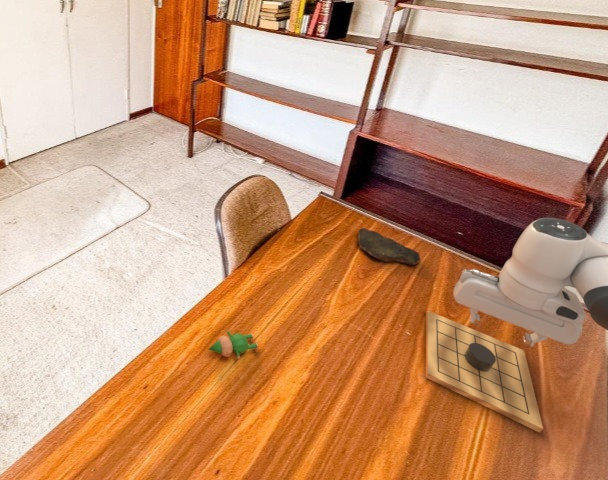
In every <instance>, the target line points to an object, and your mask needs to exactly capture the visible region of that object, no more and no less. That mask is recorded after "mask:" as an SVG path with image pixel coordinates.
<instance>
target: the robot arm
mask: <svg viewBox="0 0 608 480" xmlns="http://www.w3.org/2000/svg"><path fill="white" fill-rule="evenodd" d="M566 287H571V288H574V289H576V291H577V293H578V294H579V295H580V298H581V299H582V301H583V303H584V305H585V307H586V309H587V311H588V313H589V315H590V317H591V319H592V320H593V321H594V322H595V323H596V324H597V325H598V326H600V327H601V328H603V329H604V330H607V331H608V243H607V242H604V241H603V242H602V241H600V240H598V239H596V238H594V237H593V236H592V235H590V234H589V233H587V231H586V230H585V229H584V228H582V227H581V226H579V225H578V224H576V223H573V222H571V221H569V220H565V219H561V218H556V217H541V218H538V219H536V220H534V221H532V222H531V223H529V225H527V227H526V228H525V229H524V230H523V232H521V234H520V236H519V237H518V239H517V240H516V242H515V244H514V246H513V248H512V255H511V257H510V258H509V259H507V260H506V261H505V263H504V265H503V267H502V268H501V270H500V272H499V274H498V275H495V274H494V275H493V274H491V273H487V272H483V271H481V270H479V269H476V268H471V269H463V270H462V271H461V272H460V274H459V277H458V281H457V282H456V284H455V285H454V287H453V292H452V294H453V299H454V300H455V302H456V303H457V304H458V305H462V306H464V307H467V308H468V309H469V310H468V311H469V313H470V314H469V316H468V317H469V318H468V321H469V323H471V324H473V325H477V326H479V324H480V322H481V315H480V314H478V313H479V312H480V313H482V314H485V315H487V316H490V317H493V318H495V319H499V320H500V321H501V320H502V321H503V322H506V323H509V324H511V325H514V326H517V327H520V328H521V329H525V330H528V331H529V332H532V333H528V332H524V334H523V335H522V338H521V340H522V344H524V345H527V346H529V347H534V346H535V344H536V343H541V342H544V341H547V340H548V339H550V340H553V341H556V342H559V343H561V344H564V345H573V344H576V343H577V341H578V340H579V339H580V337H581V334H582V332H583V328H584V327H583V322H584V321H586V319H587V316H586V312H585V309H584V306H583V304H582V302H581V300H580V299H579V297H578V296H577V294H576V293H575V292H573V291H571V290H570V289H568V288H566Z"/></svg>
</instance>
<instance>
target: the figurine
mask: <svg viewBox="0 0 608 480" xmlns="http://www.w3.org/2000/svg"><path fill="white" fill-rule="evenodd" d="M225 332H226V334H227V335H228V336H227V335H221V336H218V338H217V340H216V342H214V343H213V344H212V345H211V346H209V348H208V350H209V351H212V352H213V353H217V354H219V355H222V356H223V357H227V358H229V357H231V355H233V352H234V353H235V354H236V358H237V360H239V359H240V355H242V354H245V352H246V351H247V350H252V349H254V351H255V353H257V352H258V349H259V344H258V342H255V343H253V340H254V334H253V332H251V333H249V334H248V333H247V334H243V333H233V334H232V333H231V332H230V331H229V330H228V329H227V330H226V331H225ZM248 339H249V340H250V343H251V344H249V341H248Z"/></svg>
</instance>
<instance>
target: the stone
mask: <svg viewBox="0 0 608 480" xmlns="http://www.w3.org/2000/svg"><path fill="white" fill-rule="evenodd" d="M357 239H358V246H359V248H360V249H361V250H363V251H364V252H365V254H368V255H369V256H371V257H373V258H375V259H376V260H379V261H381V262H386V263H388V262H398V263H403V264H406V265H409V266H414V265H416V264H418V263H419V261H420V260H421V257H420V253H419V252H418V251H416V250H414V249H412V248H410V247H406V246H405V245H403V244H400V243H399V242H397V241H396V240H394V239H392V238H389V237H386V236H384V235H382V234H381V233H380V232H377V231H374V230H369V229H367V228H363V227H361V228H360V229H359V230H358V232H357Z"/></svg>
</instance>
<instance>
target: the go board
mask: <svg viewBox="0 0 608 480" xmlns="http://www.w3.org/2000/svg"><path fill="white" fill-rule="evenodd" d="M471 343H478V344H481V345H483V346H485V347H487V348H488V349H489V350H490V351H491V352H492V353H493V354H494V356H495V358H496V361H495V363H494V365H493V366H492V368H491V369H490V370H489V371H487V372H484V371H480V370H478V369H476V368H474V367H473V366H472V365H470V364H469V363H468V362H467V360H466V358H465V355H464V354H465V352H466V350H467V348H468V346H469V345H470V344H471ZM527 360H528V359H527V356H526V352H525V350H524V349H521V348H520V347H517V346H515V345H512V344H510V343H507V342H505V341H502V340H501V339H498V338H495V337H493V336H490V335H488V334H485V333H483V332H481V331H478V330H475V329H474V328H471V327H468V326H466V325H464V324H461V323H459V322H457V321H454V320H452V319H449V318H447V317H444V316H442V315H439V314H437V313H435V312H432V311H430V310H427V311H426V313H425V378H426V379H427V380H430V381H432V382H433V383H436V384H438V385H440V386H442V387H444V388H446V389H448V390H450V391H452V392H454V393H457V394H459V395H461V396H463V397H465V398H467V399H469V400H471V401H473V402H475V403H477V404H479V405H482V406H483V407H485V408H487V409H490V410H492V411H494V412H496V413H498V414H500V415H502V416H504V417H506V418H509V419H511V420H512V421H515V422H516V423H519V424H521V425H522V426H525V427H527V428H529V429H531V430H533V431H535V432H537V433H539V434H540V433H541V432H542V431H543V430H544V427H543V422H542V419H541V414H540V410H539V405H538V401H537V398H536V394H535V393H536V392H535V389H534V385H533V381H532V376H531V373H530V368H529V365H528V361H527Z"/></svg>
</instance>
